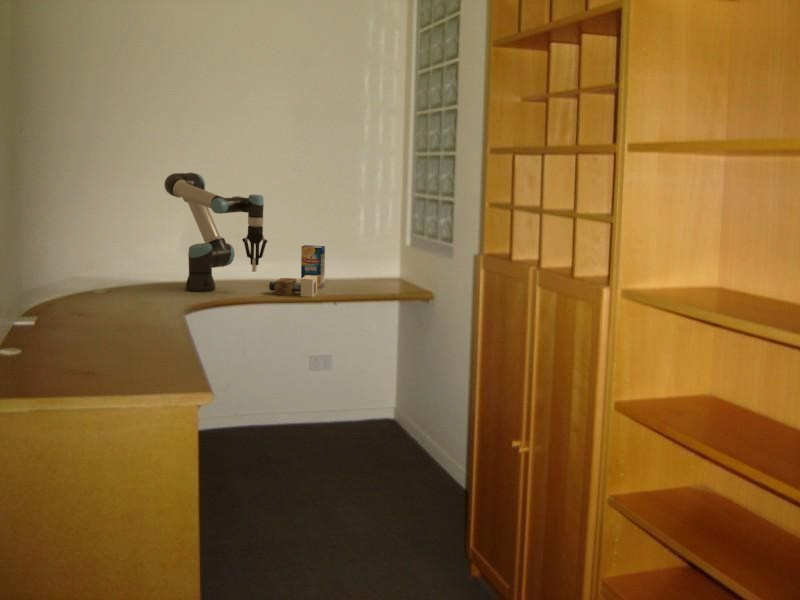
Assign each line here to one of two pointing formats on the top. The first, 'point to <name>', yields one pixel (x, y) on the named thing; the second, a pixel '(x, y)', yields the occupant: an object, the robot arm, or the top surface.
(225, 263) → the robot arm
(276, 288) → the sleeve
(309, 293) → the socket
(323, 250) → the beverage box
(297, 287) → the tube
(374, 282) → the top surface
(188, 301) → the top surface
